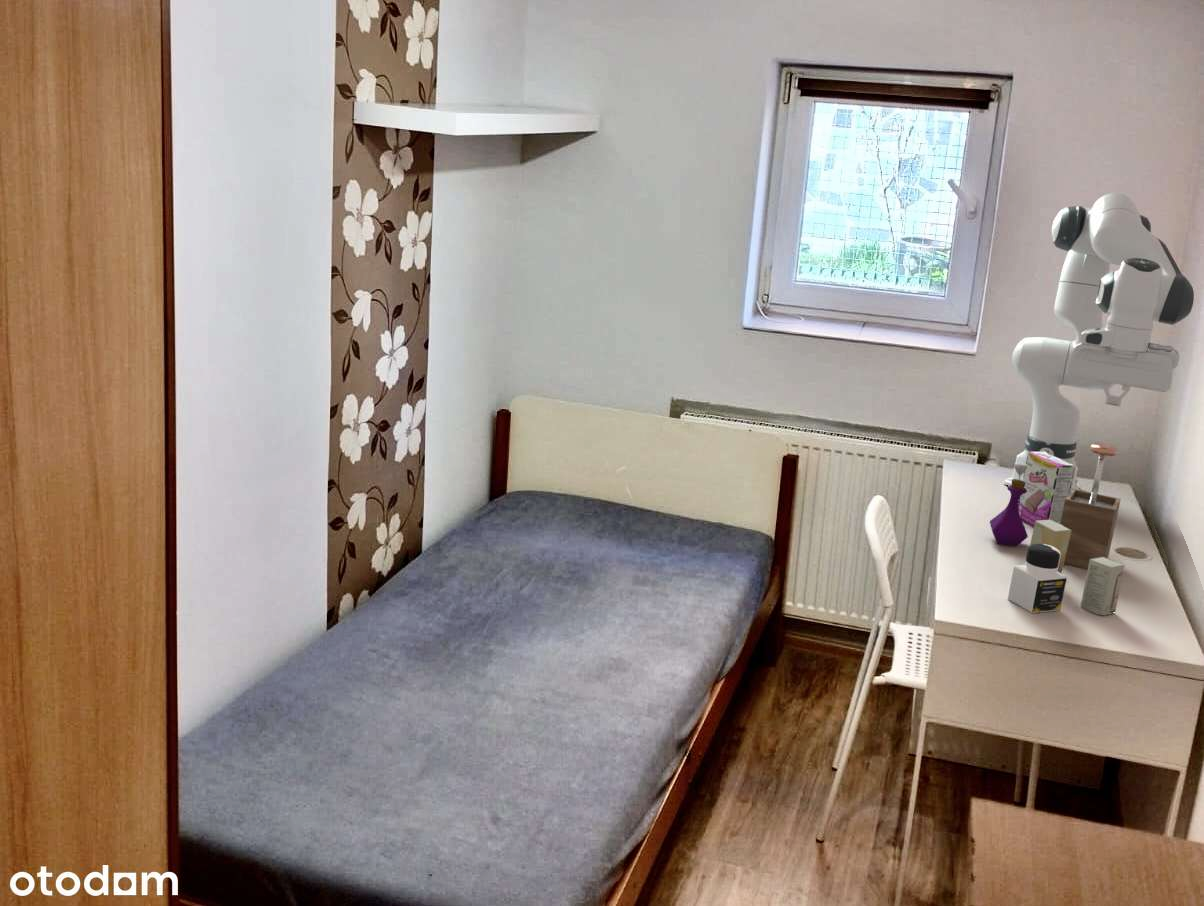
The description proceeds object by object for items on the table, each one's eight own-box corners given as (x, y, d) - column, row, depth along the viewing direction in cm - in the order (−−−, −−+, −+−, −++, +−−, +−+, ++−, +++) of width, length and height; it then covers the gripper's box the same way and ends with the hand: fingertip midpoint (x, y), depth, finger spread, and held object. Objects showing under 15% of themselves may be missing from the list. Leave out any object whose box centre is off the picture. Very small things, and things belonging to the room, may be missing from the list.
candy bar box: (1014, 517, 296) (1026, 451, 291) (1031, 516, 297) (1044, 450, 293) (1045, 534, 286) (1058, 465, 281) (1062, 533, 287) (1076, 465, 283)
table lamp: (1075, 498, 272) (1087, 439, 268) (1113, 506, 268) (1125, 446, 265) (1069, 507, 265) (1082, 446, 261) (1108, 515, 262) (1121, 454, 258)
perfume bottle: (1025, 550, 273) (1040, 472, 268) (989, 545, 274) (1004, 467, 269) (1021, 539, 280) (1036, 462, 275) (987, 534, 282) (1001, 458, 277)
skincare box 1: (1022, 575, 258) (1033, 519, 254) (1038, 574, 260) (1050, 518, 256) (1044, 587, 252) (1055, 530, 249) (1060, 586, 254) (1072, 529, 251)
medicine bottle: (1032, 614, 238) (1043, 554, 235) (1006, 599, 244) (1017, 541, 241) (1060, 610, 241) (1073, 552, 238) (1035, 596, 247) (1046, 539, 244)
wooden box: (1059, 548, 276) (1072, 488, 273) (1107, 559, 272) (1120, 498, 268) (1052, 561, 268) (1065, 499, 264) (1101, 573, 264) (1115, 510, 260)
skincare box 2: (1115, 613, 242) (1126, 565, 239) (1101, 617, 240) (1112, 567, 237) (1093, 603, 246) (1103, 555, 243) (1078, 606, 244) (1089, 558, 241)
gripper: (1182, 345, 255) (1167, 411, 259) (1077, 329, 264) (1064, 393, 267) (1180, 350, 249) (1165, 417, 253) (1073, 333, 258) (1060, 398, 262)
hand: (1112, 404), depth 260 cm, fingers closed
